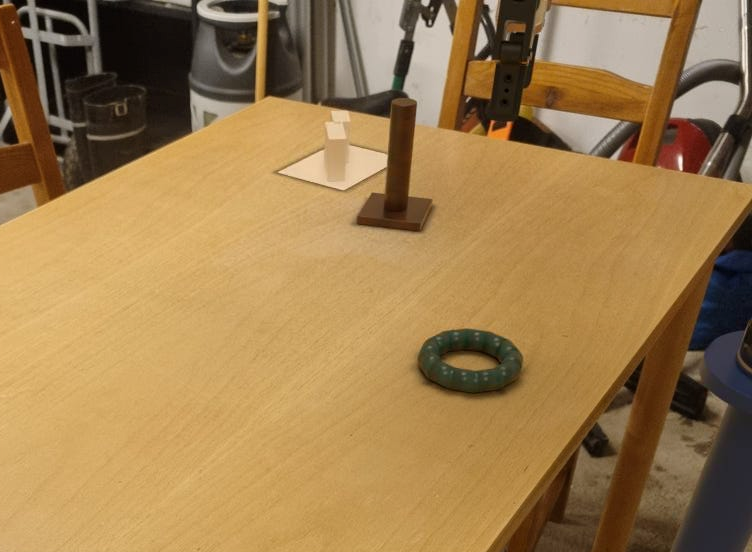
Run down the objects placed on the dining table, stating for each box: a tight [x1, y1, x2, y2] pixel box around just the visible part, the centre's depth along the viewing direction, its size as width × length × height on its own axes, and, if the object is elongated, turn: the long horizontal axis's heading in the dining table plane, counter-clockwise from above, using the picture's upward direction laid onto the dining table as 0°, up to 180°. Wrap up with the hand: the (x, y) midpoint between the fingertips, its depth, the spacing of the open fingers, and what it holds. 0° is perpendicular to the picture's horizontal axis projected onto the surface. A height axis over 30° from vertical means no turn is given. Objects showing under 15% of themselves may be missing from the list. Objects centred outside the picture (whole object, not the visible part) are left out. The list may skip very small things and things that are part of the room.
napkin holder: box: [277, 110, 388, 192], centre depth 128 cm, size 15×11×6 cm
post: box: [356, 97, 433, 232], centre depth 113 cm, size 8×8×13 cm
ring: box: [417, 327, 524, 394], centre depth 91 cm, size 10×10×2 cm
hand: (509, 102), depth 73 cm, fingers open, 8 cm apart
